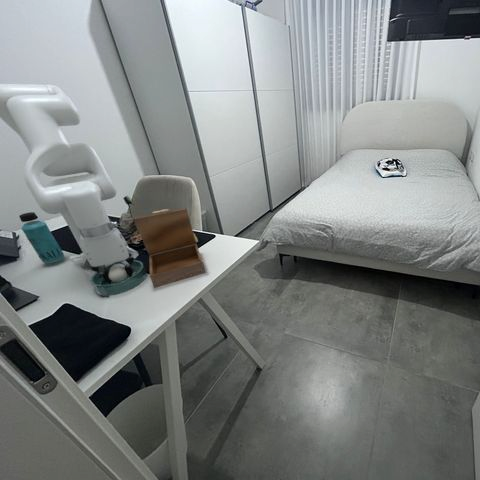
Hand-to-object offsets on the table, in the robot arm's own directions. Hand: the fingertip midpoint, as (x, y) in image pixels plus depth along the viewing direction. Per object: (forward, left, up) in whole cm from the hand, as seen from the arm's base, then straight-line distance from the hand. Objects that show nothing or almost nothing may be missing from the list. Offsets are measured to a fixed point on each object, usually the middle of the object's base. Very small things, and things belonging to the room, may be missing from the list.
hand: (120, 278), depth 85 cm
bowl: (0, 0, -2) cm, 2 cm away
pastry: (+22, +17, -2) cm, 28 cm away
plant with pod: (+3, +33, -2) cm, 33 cm away
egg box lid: (+17, +3, +11) cm, 20 cm away
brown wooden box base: (+17, -2, -2) cm, 17 cm away
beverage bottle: (-23, +29, -2) cm, 37 cm away
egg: (0, 0, 0) cm, 0 cm away
